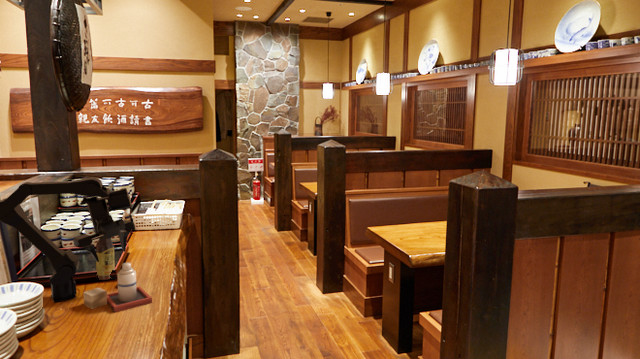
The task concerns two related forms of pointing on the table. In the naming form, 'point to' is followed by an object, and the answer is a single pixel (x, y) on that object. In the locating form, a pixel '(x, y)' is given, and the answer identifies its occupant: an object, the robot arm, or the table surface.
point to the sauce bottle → (105, 258)
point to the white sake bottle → (127, 283)
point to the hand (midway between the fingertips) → (111, 256)
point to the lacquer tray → (139, 301)
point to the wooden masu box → (95, 298)
